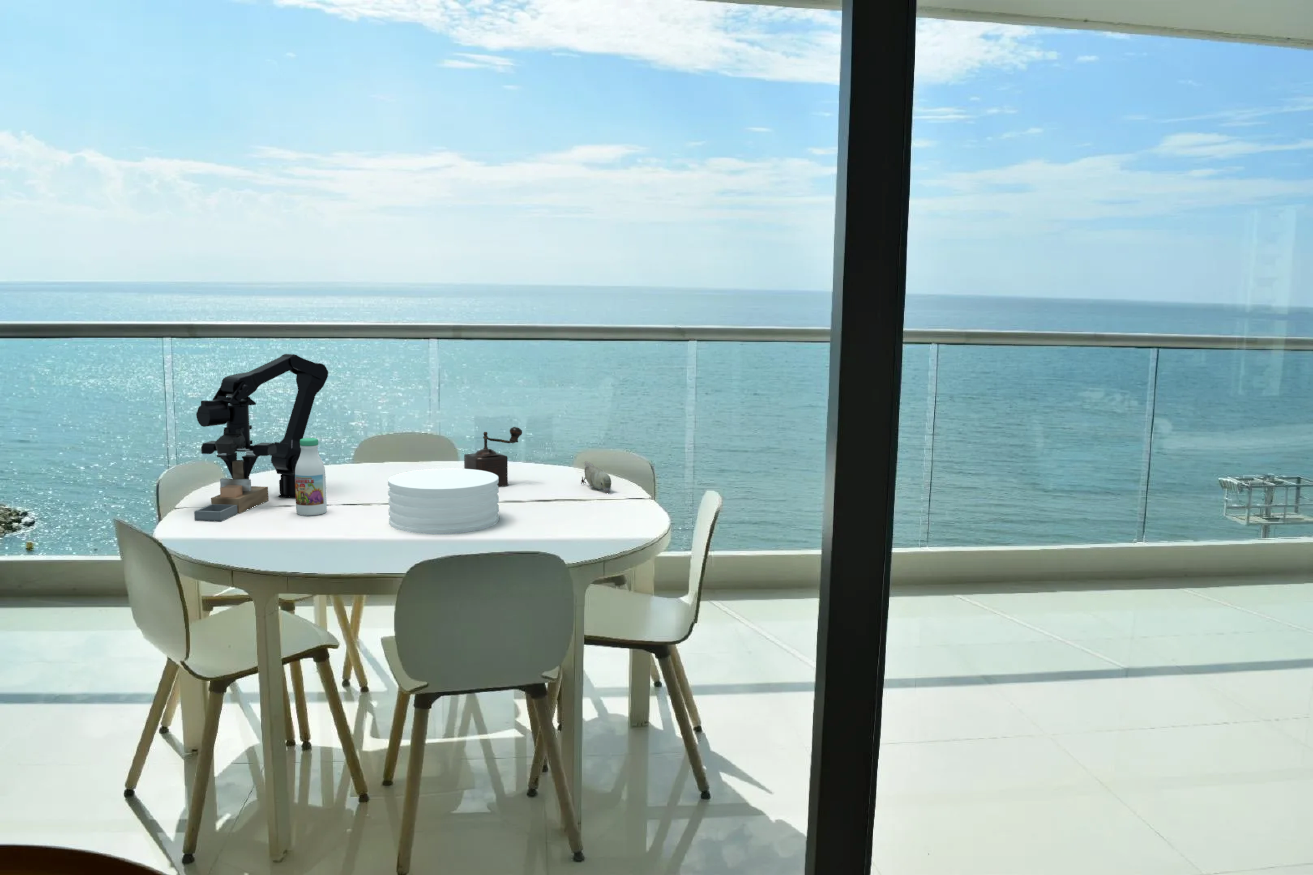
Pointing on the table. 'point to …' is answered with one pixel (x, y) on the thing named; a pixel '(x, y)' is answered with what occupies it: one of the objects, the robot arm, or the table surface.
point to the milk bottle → (310, 480)
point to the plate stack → (443, 500)
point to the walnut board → (244, 499)
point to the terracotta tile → (231, 491)
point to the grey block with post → (237, 477)
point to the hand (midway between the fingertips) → (240, 479)
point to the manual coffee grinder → (492, 458)
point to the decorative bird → (596, 477)
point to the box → (215, 512)
